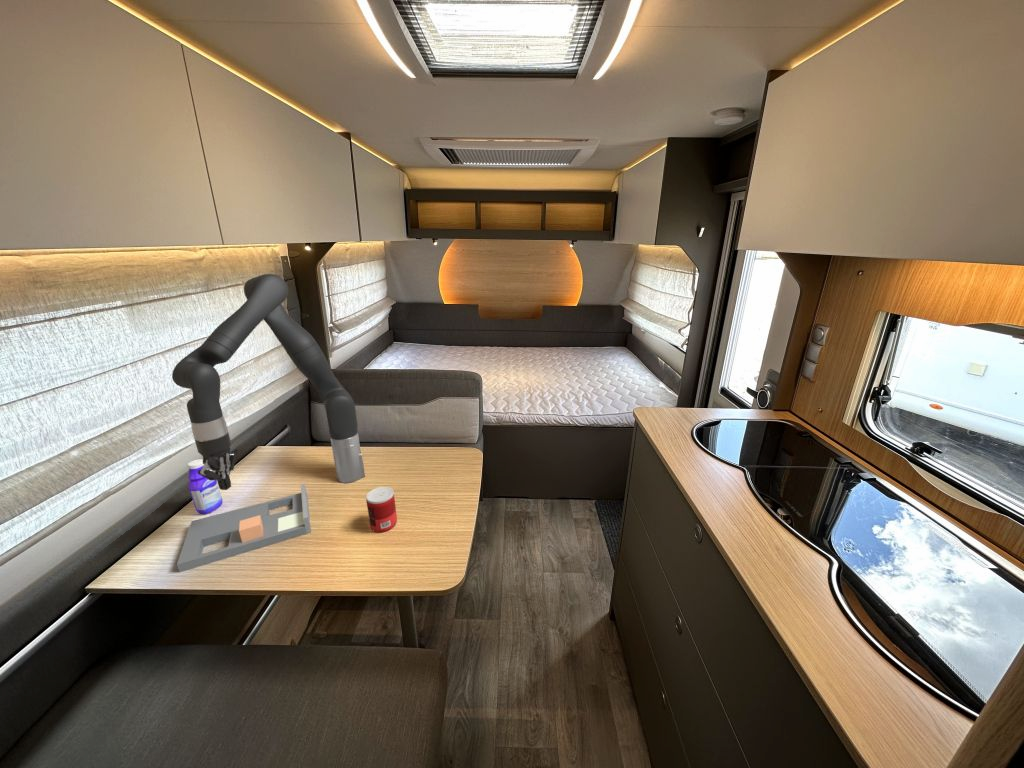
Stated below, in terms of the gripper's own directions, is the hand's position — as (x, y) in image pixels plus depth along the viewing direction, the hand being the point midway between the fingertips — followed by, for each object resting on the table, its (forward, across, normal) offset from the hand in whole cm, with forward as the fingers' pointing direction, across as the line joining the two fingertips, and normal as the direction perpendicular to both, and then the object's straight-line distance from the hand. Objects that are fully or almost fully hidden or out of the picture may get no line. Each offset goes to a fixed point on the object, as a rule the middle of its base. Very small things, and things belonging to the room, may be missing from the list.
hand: (225, 488), depth 113 cm
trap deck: (+15, -1, +3) cm, 16 cm away
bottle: (+16, -12, -17) cm, 26 cm away
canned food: (+15, -4, +43) cm, 45 cm away
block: (+13, +4, +8) cm, 15 cm away
